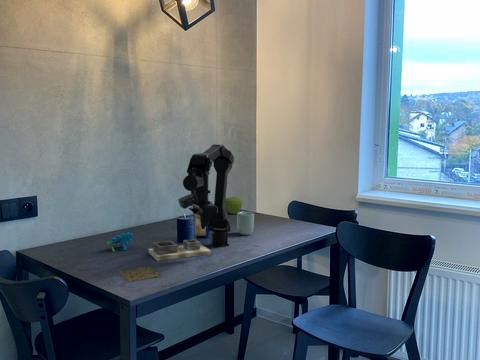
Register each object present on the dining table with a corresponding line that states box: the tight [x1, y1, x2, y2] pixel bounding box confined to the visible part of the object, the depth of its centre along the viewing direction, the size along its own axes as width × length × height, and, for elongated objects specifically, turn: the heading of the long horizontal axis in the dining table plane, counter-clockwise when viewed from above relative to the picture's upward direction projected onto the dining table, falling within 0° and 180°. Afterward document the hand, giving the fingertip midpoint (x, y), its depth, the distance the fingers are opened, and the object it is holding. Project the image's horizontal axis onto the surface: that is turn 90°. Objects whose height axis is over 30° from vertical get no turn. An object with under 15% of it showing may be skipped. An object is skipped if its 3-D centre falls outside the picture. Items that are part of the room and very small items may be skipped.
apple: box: [225, 196, 243, 215], centre depth 274 cm, size 11×10×10 cm
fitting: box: [194, 213, 207, 237], centre depth 184 cm, size 5×5×8 cm
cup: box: [236, 211, 255, 236], centre depth 226 cm, size 8×8×10 cm
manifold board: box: [148, 238, 212, 261], centre depth 192 cm, size 22×12×4 cm, turn 116°
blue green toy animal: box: [106, 231, 134, 253], centre depth 196 cm, size 11×6×10 cm
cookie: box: [118, 266, 163, 283], centre depth 166 cm, size 12×12×1 cm
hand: (200, 227), depth 184 cm, fingers closed on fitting, 4 cm apart
